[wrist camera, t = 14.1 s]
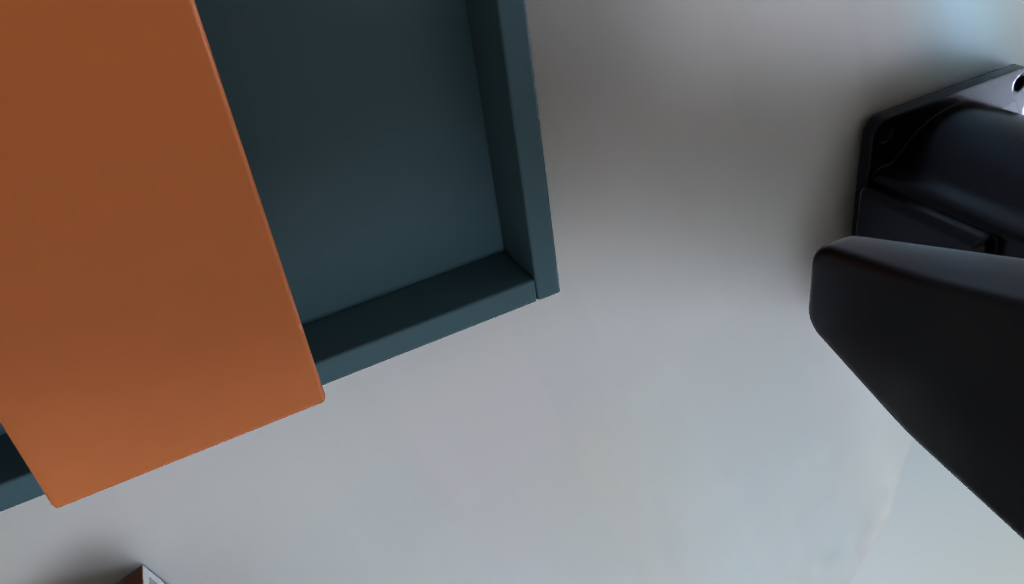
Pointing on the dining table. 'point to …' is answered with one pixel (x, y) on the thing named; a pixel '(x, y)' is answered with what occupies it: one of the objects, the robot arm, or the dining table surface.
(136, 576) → the food container
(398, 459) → the dining table surface
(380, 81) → the dark teal tray
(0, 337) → the eraser
